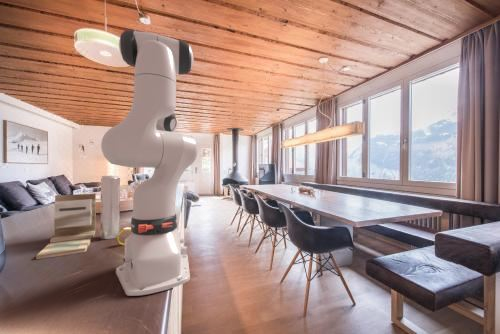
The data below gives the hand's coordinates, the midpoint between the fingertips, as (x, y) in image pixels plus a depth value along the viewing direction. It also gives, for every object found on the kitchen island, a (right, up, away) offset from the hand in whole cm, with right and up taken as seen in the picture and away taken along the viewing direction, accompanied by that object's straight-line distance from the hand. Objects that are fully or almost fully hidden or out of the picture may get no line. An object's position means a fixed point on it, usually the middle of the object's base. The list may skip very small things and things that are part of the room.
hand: (135, 158), depth 100 cm
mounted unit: (-17, -32, -14) cm, 39 cm away
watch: (+8, -33, -21) cm, 40 cm away
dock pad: (-9, -32, -27) cm, 43 cm away
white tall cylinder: (-3, -33, -13) cm, 35 cm away
